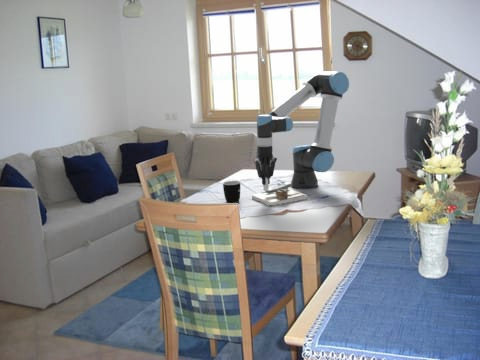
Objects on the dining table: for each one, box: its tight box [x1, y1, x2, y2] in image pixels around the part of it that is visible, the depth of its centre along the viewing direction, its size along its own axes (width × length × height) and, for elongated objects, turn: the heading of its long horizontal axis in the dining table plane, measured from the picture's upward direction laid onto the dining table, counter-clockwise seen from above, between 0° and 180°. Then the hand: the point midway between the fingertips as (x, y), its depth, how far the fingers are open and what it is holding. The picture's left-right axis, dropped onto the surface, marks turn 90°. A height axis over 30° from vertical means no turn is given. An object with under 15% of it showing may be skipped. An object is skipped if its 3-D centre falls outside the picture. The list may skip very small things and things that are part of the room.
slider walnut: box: [277, 189, 288, 200], centre depth 286 cm, size 4×4×5 cm
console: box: [251, 188, 308, 206], centre depth 294 cm, size 22×19×4 cm
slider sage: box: [277, 180, 289, 190], centre depth 303 cm, size 4×4×5 cm
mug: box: [222, 180, 241, 204], centre depth 295 cm, size 12×9×10 cm
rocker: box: [264, 181, 292, 194], centre depth 294 cm, size 14×4×2 cm, turn 117°
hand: (266, 190), depth 290 cm, fingers closed
